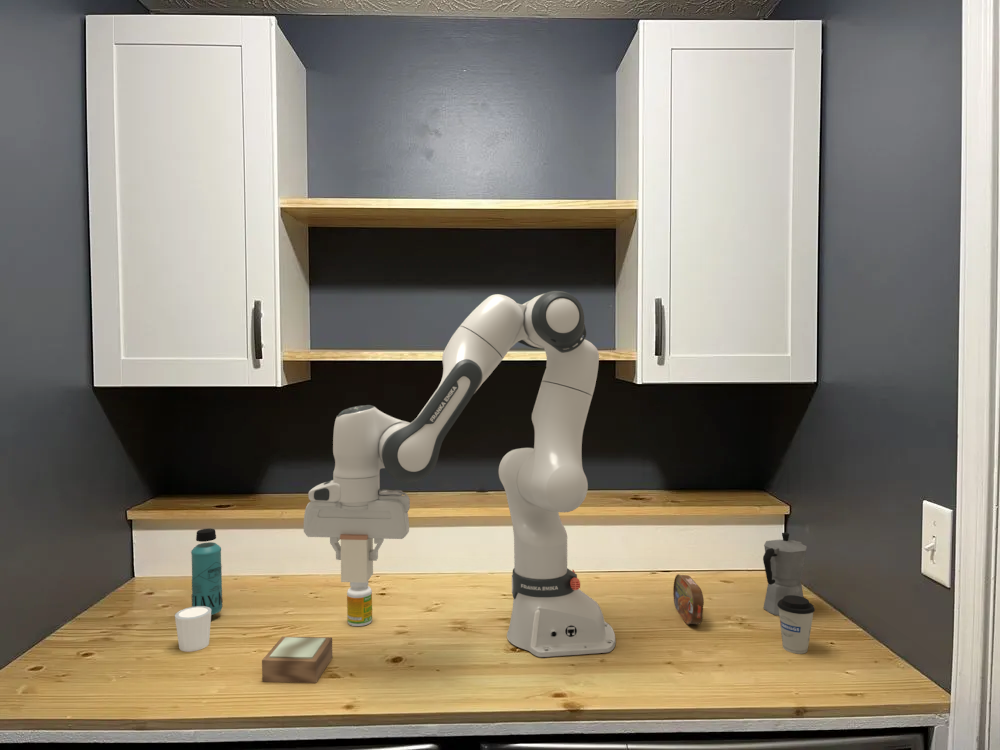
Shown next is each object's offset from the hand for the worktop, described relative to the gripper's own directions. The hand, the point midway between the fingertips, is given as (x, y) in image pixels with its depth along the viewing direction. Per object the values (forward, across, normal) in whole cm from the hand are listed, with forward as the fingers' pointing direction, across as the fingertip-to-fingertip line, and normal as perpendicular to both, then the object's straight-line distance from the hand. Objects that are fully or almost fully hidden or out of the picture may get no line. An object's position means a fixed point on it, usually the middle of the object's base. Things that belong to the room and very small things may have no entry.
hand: (357, 559), depth 134 cm
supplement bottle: (+20, +4, -17) cm, 26 cm away
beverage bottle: (+20, +39, -18) cm, 47 cm away
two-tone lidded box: (+4, 0, 0) cm, 4 cm away
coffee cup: (+19, -87, -8) cm, 89 cm away
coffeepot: (+19, -91, -27) cm, 97 cm away
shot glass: (+20, +35, -4) cm, 41 cm away
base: (+20, +10, +5) cm, 23 cm away
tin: (+19, -69, -23) cm, 75 cm away
